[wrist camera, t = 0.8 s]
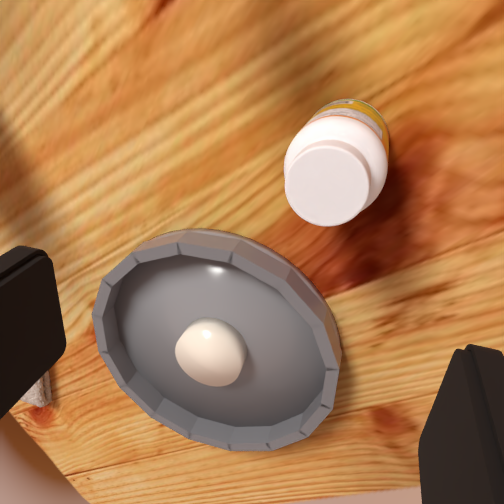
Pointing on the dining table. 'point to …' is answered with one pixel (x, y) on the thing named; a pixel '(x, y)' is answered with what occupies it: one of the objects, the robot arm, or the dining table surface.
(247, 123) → the dining table surface
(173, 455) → the dining table surface
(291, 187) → the supplement bottle
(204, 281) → the ring tray
